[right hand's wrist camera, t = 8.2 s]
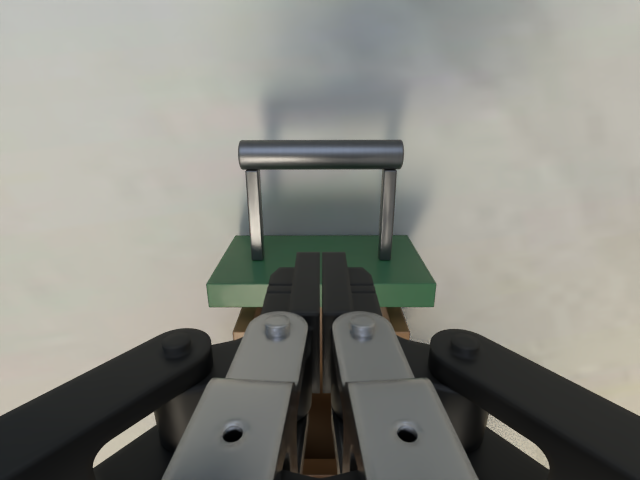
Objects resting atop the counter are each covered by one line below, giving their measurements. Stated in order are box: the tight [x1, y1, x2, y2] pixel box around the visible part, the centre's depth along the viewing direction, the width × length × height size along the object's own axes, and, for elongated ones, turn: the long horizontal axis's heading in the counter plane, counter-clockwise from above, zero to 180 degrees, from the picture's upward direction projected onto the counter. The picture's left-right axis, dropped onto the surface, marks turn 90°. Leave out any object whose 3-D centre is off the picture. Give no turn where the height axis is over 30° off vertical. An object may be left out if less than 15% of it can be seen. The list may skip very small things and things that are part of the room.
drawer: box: [206, 140, 436, 459], centre depth 23 cm, size 25×10×6 cm, turn 0°
